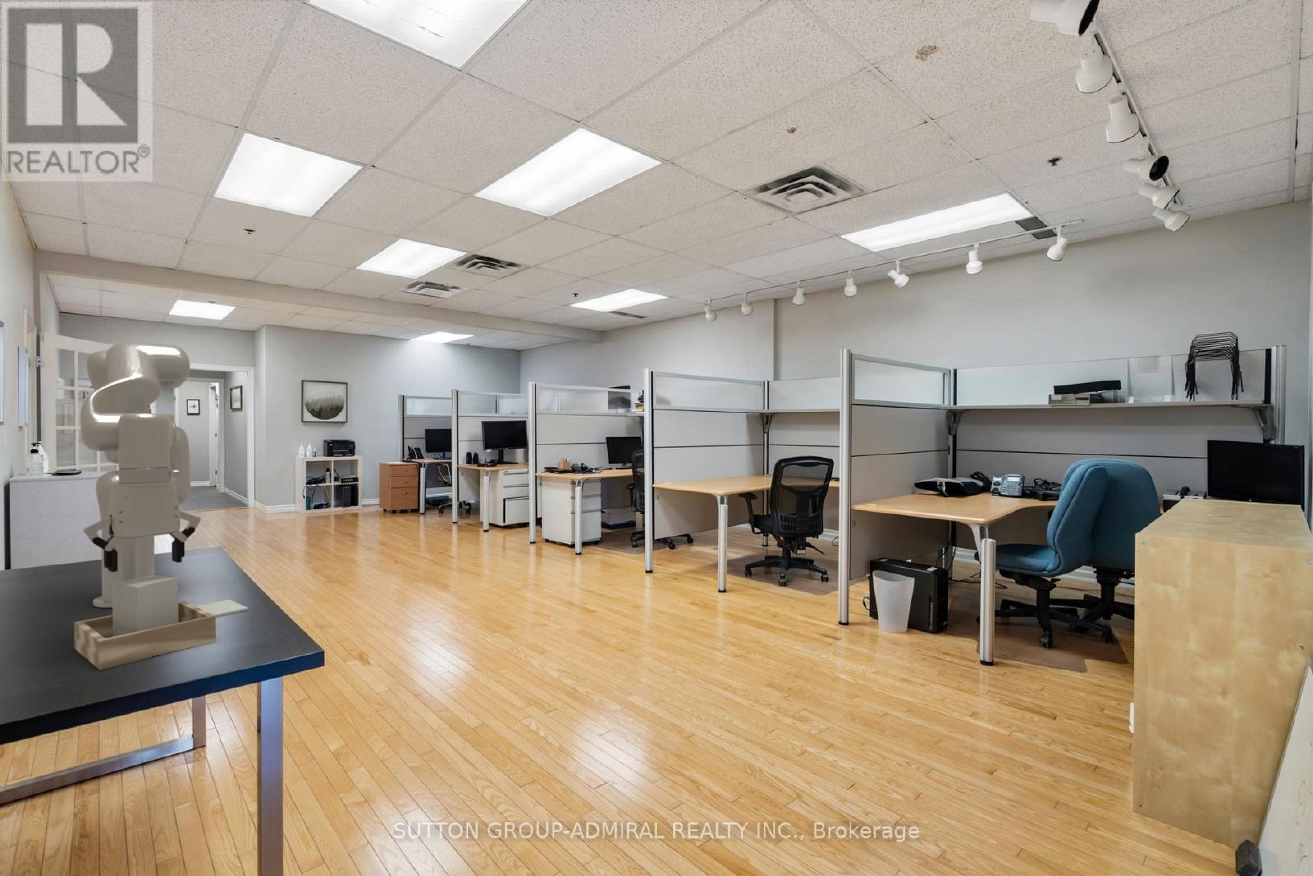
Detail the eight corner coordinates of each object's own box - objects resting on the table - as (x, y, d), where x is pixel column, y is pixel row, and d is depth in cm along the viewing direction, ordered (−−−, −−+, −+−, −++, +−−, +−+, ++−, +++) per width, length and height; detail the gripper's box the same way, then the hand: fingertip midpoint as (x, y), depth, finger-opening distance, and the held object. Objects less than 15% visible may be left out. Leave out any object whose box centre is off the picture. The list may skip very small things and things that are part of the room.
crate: (74, 648, 112) (74, 622, 112) (184, 624, 126) (184, 601, 126) (99, 670, 103) (99, 641, 102) (215, 641, 116) (215, 616, 116)
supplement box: (180, 641, 117) (179, 577, 116) (136, 654, 110) (136, 586, 109) (155, 636, 119) (154, 574, 119) (111, 649, 112) (110, 583, 112)
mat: (171, 613, 133) (171, 611, 133) (228, 602, 142) (228, 599, 142) (190, 623, 127) (189, 620, 127) (248, 610, 136) (248, 607, 136)
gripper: (192, 474, 123) (193, 556, 123) (78, 479, 109) (79, 572, 109) (206, 475, 119) (207, 560, 119) (89, 481, 104) (90, 578, 104)
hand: (145, 566), depth 114 cm, fingers open, 9 cm apart
